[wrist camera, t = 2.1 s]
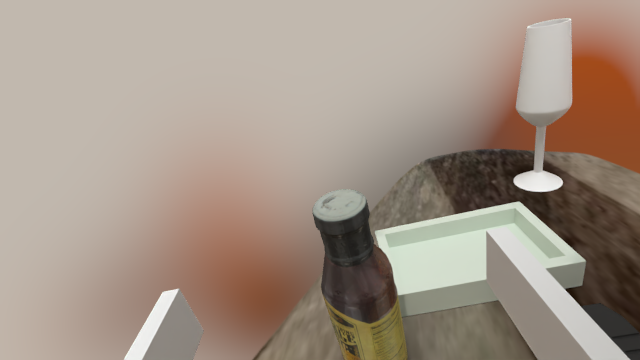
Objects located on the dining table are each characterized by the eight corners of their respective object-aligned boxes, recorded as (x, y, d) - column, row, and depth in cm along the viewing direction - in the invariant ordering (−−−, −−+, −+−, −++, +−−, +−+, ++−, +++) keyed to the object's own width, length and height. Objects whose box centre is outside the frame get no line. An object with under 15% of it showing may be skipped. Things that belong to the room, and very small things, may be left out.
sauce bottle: (340, 347, 34) (289, 193, 26) (393, 327, 35) (360, 170, 26) (360, 410, 28) (302, 238, 20) (423, 385, 29) (393, 207, 20)
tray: (518, 222, 45) (519, 201, 43) (581, 285, 34) (586, 261, 32) (378, 249, 47) (374, 231, 45) (397, 317, 36) (392, 296, 34)
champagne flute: (567, 174, 51) (587, 13, 41) (556, 195, 48) (574, 23, 37) (521, 169, 56) (527, 22, 46) (507, 187, 52) (510, 32, 42)
